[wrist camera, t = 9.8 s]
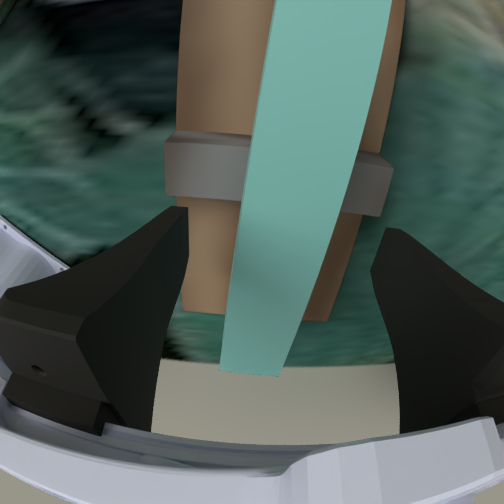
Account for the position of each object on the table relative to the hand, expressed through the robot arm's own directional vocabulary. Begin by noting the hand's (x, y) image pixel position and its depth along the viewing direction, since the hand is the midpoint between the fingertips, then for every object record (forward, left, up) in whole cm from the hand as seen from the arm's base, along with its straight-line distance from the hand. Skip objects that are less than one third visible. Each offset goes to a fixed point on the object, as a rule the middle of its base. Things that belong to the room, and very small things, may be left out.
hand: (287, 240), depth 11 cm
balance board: (0, 0, -9) cm, 9 cm away
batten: (0, 0, -6) cm, 6 cm away
